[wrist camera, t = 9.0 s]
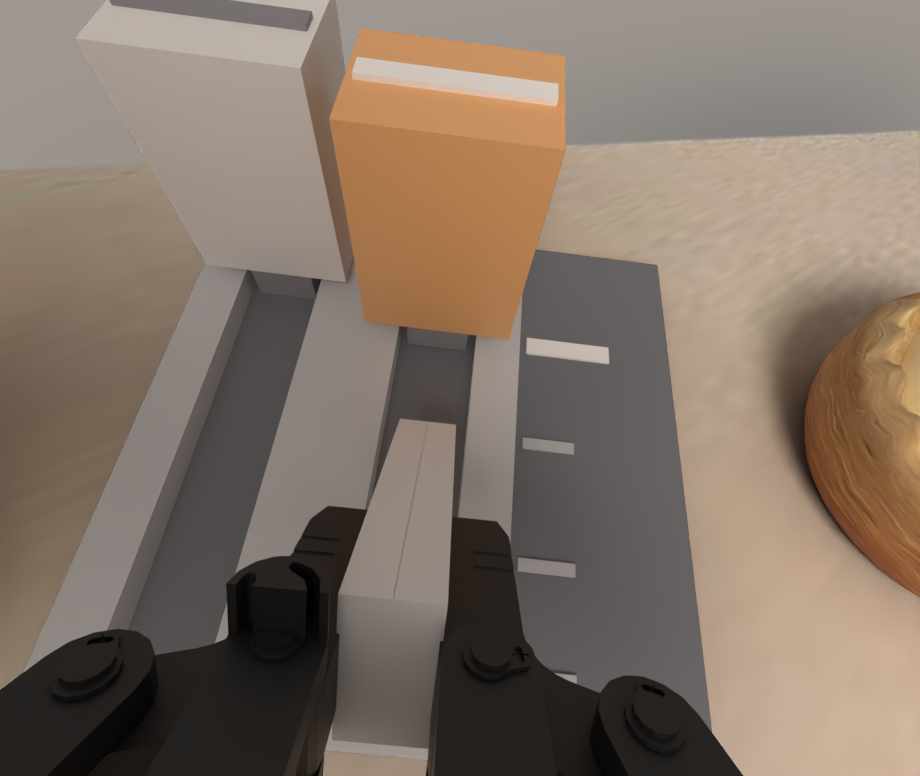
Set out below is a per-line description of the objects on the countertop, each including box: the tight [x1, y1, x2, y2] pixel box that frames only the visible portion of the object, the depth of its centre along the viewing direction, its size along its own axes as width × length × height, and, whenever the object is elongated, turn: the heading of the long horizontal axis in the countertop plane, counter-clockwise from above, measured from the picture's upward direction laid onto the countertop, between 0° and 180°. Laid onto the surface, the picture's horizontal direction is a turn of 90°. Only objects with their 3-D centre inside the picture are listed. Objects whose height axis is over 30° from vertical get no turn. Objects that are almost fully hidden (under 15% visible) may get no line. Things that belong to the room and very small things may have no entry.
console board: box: [23, 0, 712, 761], centre depth 13 cm, size 18×18×10 cm
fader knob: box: [329, 28, 566, 351], centre depth 15 cm, size 5×4×9 cm
